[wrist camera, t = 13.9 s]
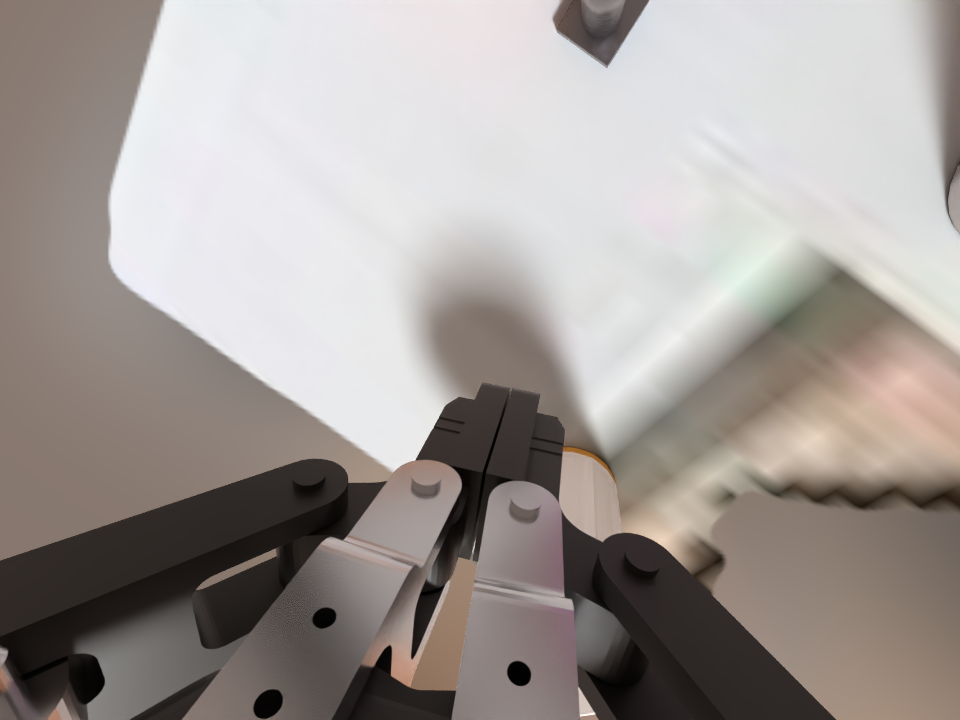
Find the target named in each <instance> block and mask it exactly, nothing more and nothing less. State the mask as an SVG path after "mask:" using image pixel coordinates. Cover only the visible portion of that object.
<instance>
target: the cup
mask: <svg viewBox="0 0 960 720" xmlns="http://www.w3.org/2000/svg"><path fill="white" fill-rule="evenodd" d="M559 504H560V507H561V510H562V512H563V513H564V515H565V517H566V518H567V519H568V520H569V521H570V522H571V523H572V524H573V525H574V526H575V527H577V528H578V529H579V530H581V531H582V532H584V533H586V534H588V535H590V536H592V537H594V538H596V539H598V540H600V541H602V542H603V541H604V540H605V539H606V538H608V537H609V536H611V535H614V534H618V533H622V527H621V519H620V512H619V504H618V496H617V489H616V482H615V478H614V476H613V474H612V472H611V471H610V469H609V468H608V466H607V465H606V464H605V463H604V462H603V461H602V460H601V459H599V458H598V457H597V456H595V455H594V454H593V453H590V452H587V451H584V450H581V449H578V448H574V447H563V455H562V468H561V480H560V492H559ZM578 692H579V710H580V716H585V715H593V714H595V713H594V711H593V709H592V708H591V706H590V704H589V703H588V701H587V700H586V698H585V696H584V695H583V693H582V691H581V690H580V688H579V687H578Z"/></svg>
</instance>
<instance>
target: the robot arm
mask: <svg viewBox="0 0 960 720" xmlns="http://www.w3.org/2000/svg"><path fill="white" fill-rule="evenodd" d="M948 205H949V215H950V217H951V220H952V222H953V225H954V227H955V229H956V230H957V231H958V232H959V233H960V164H959V166H958V167H957V170H956V172H955V175H954V177H953V180H952V182H951V185H950V191H949V197H948ZM509 397H510V398H509ZM539 397H540V394H537V393H532V392H527V391H522V390H517V389H512V391H511V395H510V388H507V387H502V386H497V385H492V384H487V383H482V385H481V387H480V389H479V392H478V394H477V396H476V398H475V400H471V399H466V398H462V397H458V398H457V399H455V400H453V401H452V402H450V403H448V404H447V405H446V406H445V407H444V409H443V411H442V413H441V415H440V416H439V419H438V420H437V422H436V424H435V426H434V429H432V431H431V433H430V435H429V436H428V438H427V440H426V442H425V444H424V446H423V447H422V449H421V451H420V453H419V455H418V456H417V458H416V460H415V461H412V462H409V463H406V464H404V465H402V466H400V467H399V468H398V469H397V470H396V471H395V472H394V473H393V474H392V476H391V477H390V479H389V480H388V481H385V482H378V483H348V475H347V473H346V471H345V469H344V468H342V467H341V466H340V465H338V464H337V463H335V462H332V461H328V460H324V459H307V460H301V461H298V462H295V463H292V464H288V465H285V466H283V467H279V468H276V469H273V470H270V471H268V472H264V473H261V474H259V475H255V476H252V477H249V478H247V479H244V480H240V481H237V482H235V483H231V484H228V485H225V486H223V487H219V488H216V489H213V490H211V491H207V492H205V493H202V494H199V495H196V496H193V497H190V498H187V499H184V500H181V501H178V502H175V503H172V504H169V505H166V506H163V507H160V508H157V509H154V510H151V511H148V512H145V513H142V514H139V515H136V516H133V517H130V518H127V519H124V520H121V521H118V522H115V523H112V524H109V525H106V526H103V527H100V528H97V529H94V530H91V531H88V532H85V533H82V534H79V535H76V536H73V537H70V538H67V539H64V540H61V541H58V542H55V543H52V544H49V545H46V546H43V547H40V548H37V549H34V550H31V551H28V552H25V553H22V554H19V555H16V556H13V557H10V558H7V559H4V560H1V561H0V720H128V719H130V718H131V719H130V720H580V710H579V692H578V687H579V688H580V690H581V691H582V693H583V695H584V696H585V698H586V700H587V701H588V703H589V704H590V706H591V708H592V709H593V711H594V713H595V714H596V716H597V717H598V719H599V720H836V719H835V718H834V717H833V716H832V715H831V714H830V713H829V712H828V711H827V710H826V709H825V708H824V707H823V706H822V705H821V704H820V703H819V702H818V701H817V700H816V699H815V698H814V697H813V696H812V695H811V694H810V693H809V692H808V691H807V690H806V689H805V688H804V687H803V686H802V685H801V684H800V683H799V682H798V681H797V680H796V679H795V678H794V677H793V676H792V675H791V674H790V673H789V672H788V671H787V670H786V669H785V668H784V667H783V666H782V665H781V664H780V663H779V662H778V661H777V660H776V659H775V658H774V657H773V656H772V655H771V654H770V653H769V652H768V651H767V650H766V649H765V648H764V647H763V646H762V645H761V644H760V643H759V642H758V641H757V640H756V639H755V638H754V637H753V636H752V635H751V634H750V633H749V632H748V631H747V630H746V629H745V628H744V627H743V626H742V625H741V624H740V623H739V622H738V621H737V620H736V619H735V618H734V617H733V616H732V615H731V614H730V613H729V612H728V611H727V610H726V609H725V608H724V607H723V606H722V605H721V604H720V603H719V602H718V601H717V600H716V599H715V598H714V597H713V596H712V595H711V594H710V593H709V592H708V591H707V590H706V589H705V588H704V587H703V586H702V585H701V584H700V583H699V582H698V581H697V580H696V579H695V578H694V577H693V576H692V575H691V574H690V573H689V572H688V571H687V570H686V569H685V568H684V567H683V566H682V565H681V564H680V563H679V562H678V561H677V560H676V559H675V558H674V557H673V556H672V555H671V554H670V553H669V552H668V551H667V550H666V549H665V548H664V547H662V546H661V545H660V544H658V543H656V542H655V541H653V540H651V539H649V538H646V537H644V536H641V535H638V534H632V533H618V534H614V535H611V536H609V537H608V538H606V539H605V540H604V541H603V542H602V541H600V540H598V539H596V538H594V537H592V536H590V535H588V534H586V533H584V532H582V531H581V530H579V529H578V528H577V527H575V526H574V525H573V524H572V523H571V522H570V521H569V520H568V519H567V518H566V517H565V515H564V513H563V512H562V510H561V507H560V504H559V492H560V480H561V468H562V455H563V443H564V432H565V430H564V428H563V427H562V425H561V423H560V421H559V420H558V418H557V417H554V416H549V415H544V414H539V413H537V408H538V403H539ZM475 539H476V542H475ZM474 543H475V549H474V555H473V561H477V562H478V566H477V571H476V578H475V582H474V588H473V594H472V600H471V606H470V612H469V618H468V623H467V630H466V635H465V641H464V647H463V654H462V659H461V665H460V671H459V677H458V683H457V689H456V691H435V690H427V691H426V690H415V689H412V688H410V685H411V681H412V678H413V675H414V672H415V670H416V667H417V665H418V662H419V660H420V657H421V655H422V653H423V650H424V648H425V645H426V642H427V640H428V638H429V636H430V633H431V631H432V628H433V626H434V623H435V621H436V619H437V616H438V614H439V611H440V609H441V606H442V604H443V602H444V599H445V597H446V594H447V592H448V589H449V584H450V578H451V576H452V575H453V572H454V570H455V566H456V563H457V560H458V557H461V558H465V559H468V560H470V557H471V553H472V550H473V546H474ZM275 548H276V554H277V556H276V557H274V558H272V559H270V560H267V561H265V562H263V563H260V564H258V565H256V566H254V567H252V568H249V569H247V570H245V571H243V572H240V573H238V574H236V575H234V576H232V577H229V578H227V579H225V580H222V581H220V582H218V583H216V584H213V585H211V586H209V587H207V588H204V589H201V590H196V589H197V587H198V586H199V585H200V584H201V583H202V582H204V581H205V580H206V579H208V578H210V577H211V576H213V575H216V574H218V573H220V572H222V571H225V570H227V569H229V568H231V567H234V566H236V565H239V564H241V563H243V562H245V561H248V560H250V559H252V558H255V557H257V556H259V555H262V554H264V553H266V552H268V551H271V550H273V549H275ZM221 668H222V669H221ZM219 669H220V670H219ZM141 712H142V713H141ZM139 713H140V714H139ZM134 716H135V717H134ZM132 717H133V718H132Z"/></svg>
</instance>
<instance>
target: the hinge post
mask: <svg viewBox="0 0 960 720" xmlns="http://www.w3.org/2000/svg"><path fill="white" fill-rule="evenodd" d="M648 2H649V0H573V2H572V3H571V5H570V7H569V9H568V10H567V12H566V14H565V16H564V18H563V19H562V21H561V23H560V25H559V26H558V28H557V32H558V33H559V34H560V35H562V36H563V37H565V38H566V39H567V40H569V41H570V42H572V43H573V44H574V45H576V46H577V47H578V48H580V49H581V50H583V51H584V52H585V53H587V54H588V55H590V56H591V57H592V58H594V59H595V60H597V61H598V62H599V63H601V64H602V65H604V66H605V67H606V68H607V67H608V66H609V64H610V63H611V61H612V59H613V58H614V56H615V55H616V53H617V52H618V50H619V48H620V47H621V45H622V44H623V42H624V40H625V39H626V37H627V36H628V34H629V32H630V31H631V29H632V28H633V26H634V25H635V23H636V21H637V20H638V18H639V17H640V15H641V13H642V12H643V10H644V9H645V7H646V5H647V4H648Z"/></svg>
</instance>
